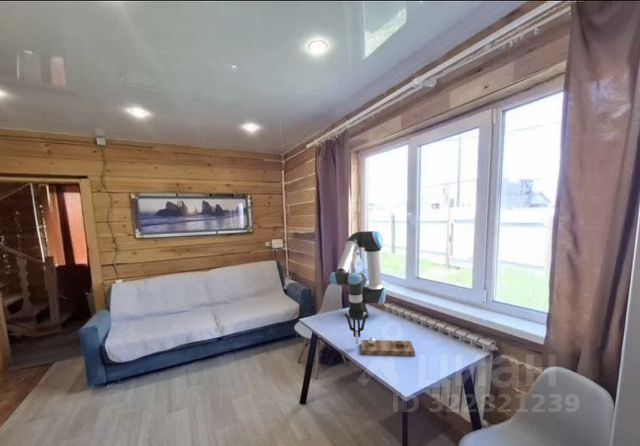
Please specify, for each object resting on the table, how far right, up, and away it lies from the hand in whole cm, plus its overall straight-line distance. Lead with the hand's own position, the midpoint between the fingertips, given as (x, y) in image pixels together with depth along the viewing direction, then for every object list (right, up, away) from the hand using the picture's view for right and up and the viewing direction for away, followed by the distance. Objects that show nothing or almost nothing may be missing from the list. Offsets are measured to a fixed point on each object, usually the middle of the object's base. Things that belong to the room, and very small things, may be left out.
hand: (357, 342), depth 151 cm
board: (+16, -3, -2) cm, 17 cm away
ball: (+8, +1, -1) cm, 8 cm away
